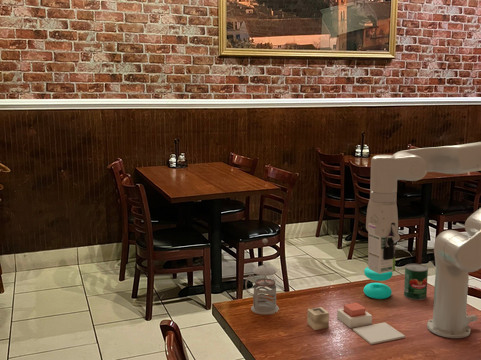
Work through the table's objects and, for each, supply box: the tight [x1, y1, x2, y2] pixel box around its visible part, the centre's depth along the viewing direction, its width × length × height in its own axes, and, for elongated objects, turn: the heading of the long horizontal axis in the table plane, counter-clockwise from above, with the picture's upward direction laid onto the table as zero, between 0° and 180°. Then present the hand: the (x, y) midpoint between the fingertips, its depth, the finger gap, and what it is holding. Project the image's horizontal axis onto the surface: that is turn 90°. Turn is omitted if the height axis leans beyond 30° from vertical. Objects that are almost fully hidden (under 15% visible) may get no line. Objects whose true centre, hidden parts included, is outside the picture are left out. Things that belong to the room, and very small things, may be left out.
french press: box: [244, 238, 280, 316], centre depth 179 cm, size 10×12×25 cm
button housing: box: [336, 307, 373, 329], centre depth 170 cm, size 8×8×3 cm
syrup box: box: [367, 223, 396, 274], centre depth 157 cm, size 6×6×14 cm
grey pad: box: [352, 322, 406, 345], centre depth 161 cm, size 12×10×1 cm
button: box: [343, 302, 367, 317], centre depth 170 cm, size 5×5×3 cm
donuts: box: [363, 266, 393, 300], centre depth 191 cm, size 10×10×10 cm
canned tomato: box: [403, 263, 429, 301], centre depth 190 cm, size 8×8×11 cm
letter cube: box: [306, 306, 330, 331], centre depth 167 cm, size 5×5×5 cm
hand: (381, 255), depth 157 cm, fingers closed on syrup box, 5 cm apart
